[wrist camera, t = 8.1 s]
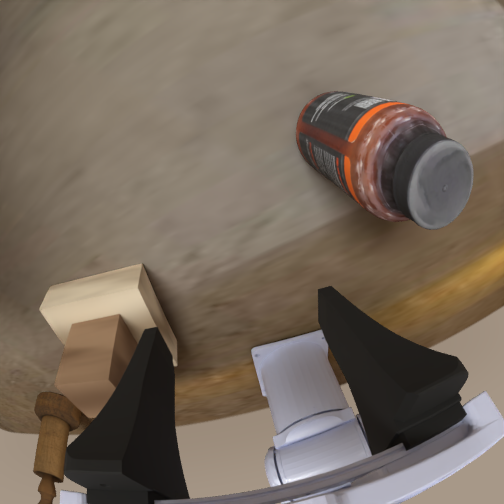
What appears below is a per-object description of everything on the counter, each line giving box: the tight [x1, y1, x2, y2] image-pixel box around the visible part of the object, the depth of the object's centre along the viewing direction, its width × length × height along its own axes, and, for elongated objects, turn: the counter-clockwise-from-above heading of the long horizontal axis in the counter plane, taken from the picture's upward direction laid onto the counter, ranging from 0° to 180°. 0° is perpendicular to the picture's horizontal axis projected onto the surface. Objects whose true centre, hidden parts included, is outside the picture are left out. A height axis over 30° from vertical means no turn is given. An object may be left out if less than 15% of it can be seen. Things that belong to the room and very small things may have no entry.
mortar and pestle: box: [33, 392, 82, 504], centre depth 24 cm, size 7×6×18 cm
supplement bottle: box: [296, 91, 473, 230], centre depth 15 cm, size 6×6×11 cm
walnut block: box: [54, 314, 138, 418], centre depth 20 cm, size 4×4×6 cm
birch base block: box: [39, 264, 178, 366], centre depth 24 cm, size 9×9×3 cm
